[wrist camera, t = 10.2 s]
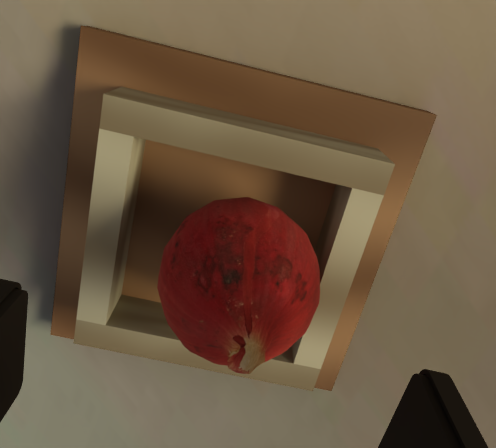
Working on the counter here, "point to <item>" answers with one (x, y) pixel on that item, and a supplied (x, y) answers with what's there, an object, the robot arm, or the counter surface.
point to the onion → (239, 283)
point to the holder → (220, 190)
